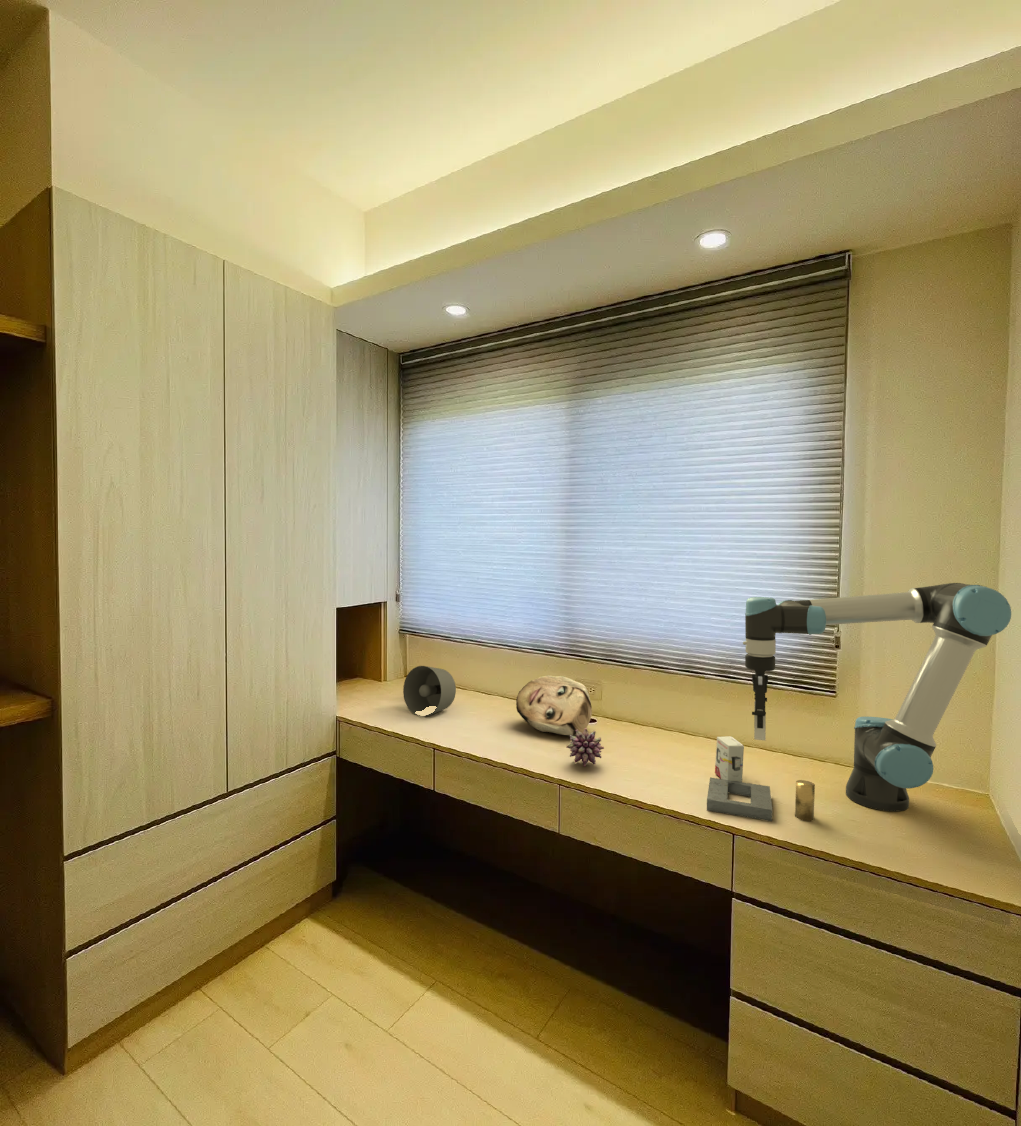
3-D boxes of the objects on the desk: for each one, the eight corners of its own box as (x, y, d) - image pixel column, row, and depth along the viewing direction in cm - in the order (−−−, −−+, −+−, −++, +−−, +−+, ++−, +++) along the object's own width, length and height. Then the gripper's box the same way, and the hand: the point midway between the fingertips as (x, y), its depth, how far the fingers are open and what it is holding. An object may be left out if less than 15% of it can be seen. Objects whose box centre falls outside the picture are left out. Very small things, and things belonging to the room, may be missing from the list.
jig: (769, 796, 166) (769, 786, 166) (772, 821, 151) (772, 810, 151) (709, 787, 172) (710, 777, 172) (706, 810, 157) (706, 799, 157)
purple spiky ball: (590, 775, 179) (590, 737, 179) (559, 765, 187) (559, 728, 187) (610, 765, 188) (611, 728, 187) (580, 756, 196) (580, 720, 196)
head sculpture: (520, 739, 232) (581, 756, 215) (503, 714, 222) (566, 730, 206) (544, 693, 245) (604, 706, 228) (530, 668, 235) (591, 679, 218)
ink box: (714, 773, 182) (715, 736, 182) (729, 773, 183) (730, 735, 183) (727, 785, 174) (728, 745, 173) (743, 784, 174) (744, 745, 174)
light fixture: (441, 667, 234) (480, 665, 257) (394, 663, 248) (435, 662, 270) (439, 719, 232) (478, 712, 254) (392, 713, 246) (433, 707, 268)
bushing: (812, 815, 155) (813, 781, 155) (814, 822, 151) (815, 788, 151) (794, 812, 157) (795, 779, 156) (795, 819, 152) (796, 785, 152)
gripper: (745, 646, 172) (745, 717, 173) (744, 661, 149) (744, 744, 150) (773, 647, 169) (773, 720, 170) (776, 664, 146) (776, 748, 147)
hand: (759, 732), depth 160 cm, fingers open, 13 cm apart
